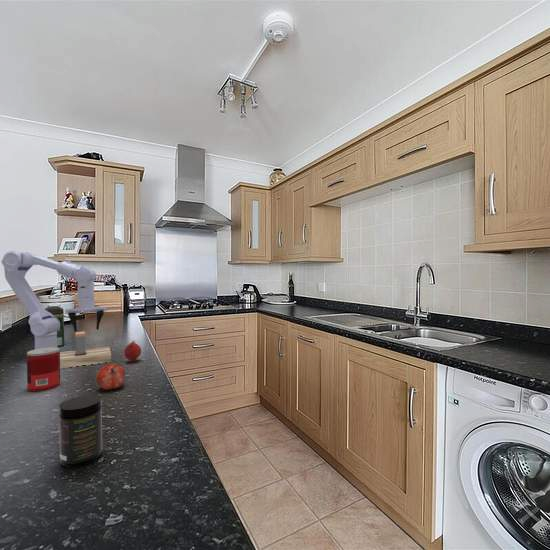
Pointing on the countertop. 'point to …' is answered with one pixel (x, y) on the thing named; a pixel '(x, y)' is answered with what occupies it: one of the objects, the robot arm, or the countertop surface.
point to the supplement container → (80, 430)
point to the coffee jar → (59, 314)
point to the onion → (132, 351)
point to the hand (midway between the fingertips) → (86, 330)
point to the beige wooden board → (85, 357)
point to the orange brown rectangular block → (80, 342)
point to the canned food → (43, 368)
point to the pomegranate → (110, 376)
